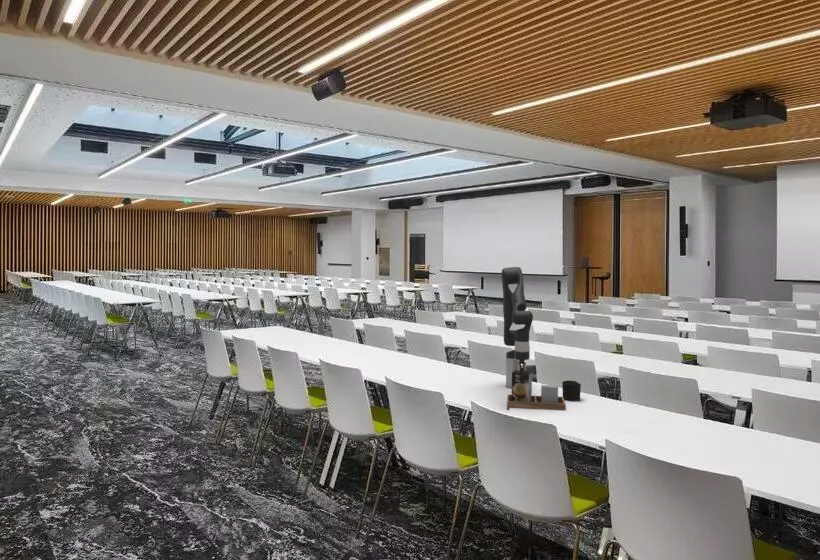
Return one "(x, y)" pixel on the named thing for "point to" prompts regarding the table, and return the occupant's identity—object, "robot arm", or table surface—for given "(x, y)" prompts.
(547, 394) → the tea box
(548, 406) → the caddy
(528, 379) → the coffee box
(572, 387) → the pen holder
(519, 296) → the robot arm
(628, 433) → the table surface
